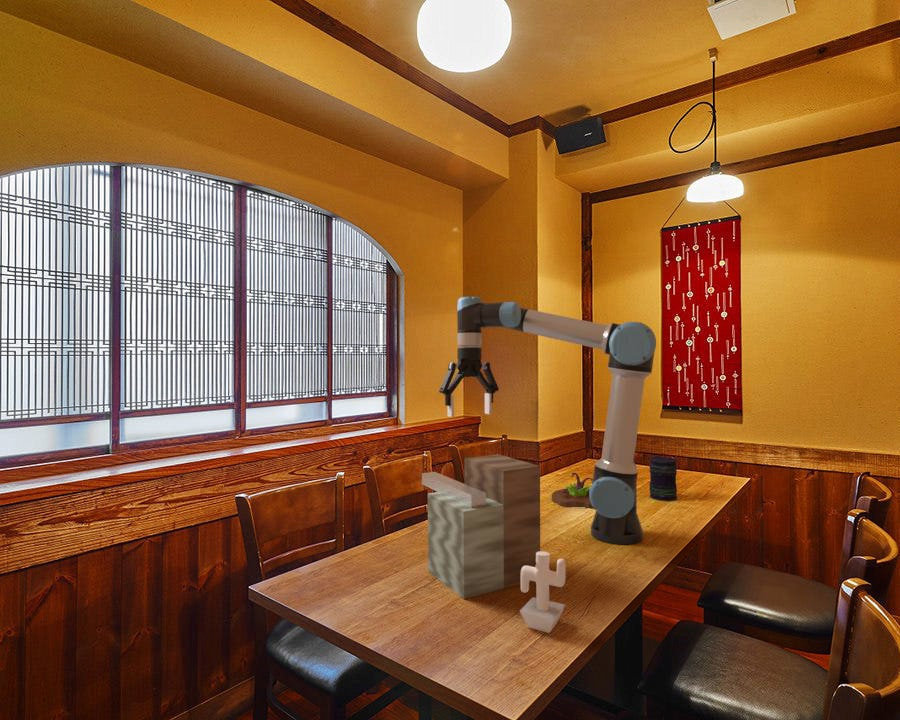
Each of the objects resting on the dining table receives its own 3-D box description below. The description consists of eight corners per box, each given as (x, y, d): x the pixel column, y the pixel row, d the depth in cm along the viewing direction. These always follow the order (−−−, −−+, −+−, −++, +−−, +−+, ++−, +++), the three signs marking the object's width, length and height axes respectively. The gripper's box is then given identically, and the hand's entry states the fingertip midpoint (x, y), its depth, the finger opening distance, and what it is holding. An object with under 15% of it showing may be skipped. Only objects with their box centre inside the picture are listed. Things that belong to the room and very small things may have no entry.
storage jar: (681, 501, 200) (681, 461, 199) (654, 501, 200) (654, 461, 200) (670, 494, 209) (670, 456, 209) (645, 494, 210) (645, 456, 210)
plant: (547, 494, 210) (547, 466, 210) (596, 494, 210) (596, 466, 210) (557, 509, 190) (557, 478, 190) (611, 509, 190) (611, 478, 190)
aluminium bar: (422, 484, 146) (422, 473, 146) (434, 482, 148) (434, 471, 147) (471, 508, 123) (471, 495, 123) (485, 505, 125) (485, 492, 125)
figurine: (527, 612, 114) (527, 543, 114) (570, 623, 109) (570, 551, 109) (514, 627, 108) (514, 554, 108) (559, 640, 103) (559, 563, 103)
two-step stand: (428, 571, 136) (427, 462, 136) (499, 555, 147) (498, 454, 146) (463, 599, 120) (463, 476, 120) (540, 578, 131) (540, 466, 131)
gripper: (496, 347, 174) (496, 411, 174) (428, 347, 162) (428, 416, 162) (509, 346, 167) (509, 414, 168) (439, 346, 155) (440, 419, 155)
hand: (469, 415), depth 165 cm, fingers open, 13 cm apart
